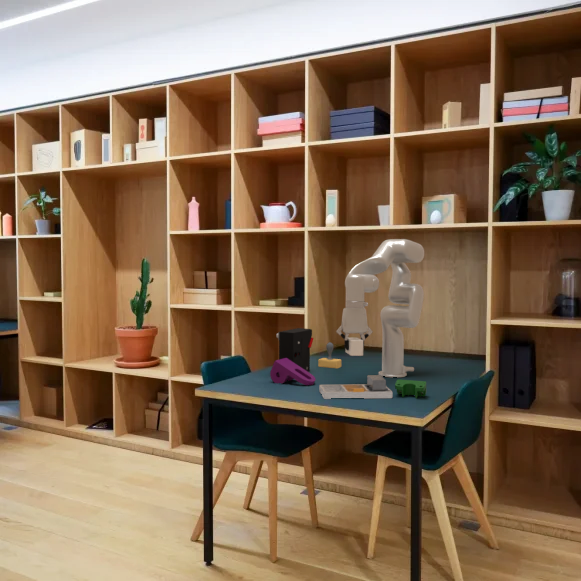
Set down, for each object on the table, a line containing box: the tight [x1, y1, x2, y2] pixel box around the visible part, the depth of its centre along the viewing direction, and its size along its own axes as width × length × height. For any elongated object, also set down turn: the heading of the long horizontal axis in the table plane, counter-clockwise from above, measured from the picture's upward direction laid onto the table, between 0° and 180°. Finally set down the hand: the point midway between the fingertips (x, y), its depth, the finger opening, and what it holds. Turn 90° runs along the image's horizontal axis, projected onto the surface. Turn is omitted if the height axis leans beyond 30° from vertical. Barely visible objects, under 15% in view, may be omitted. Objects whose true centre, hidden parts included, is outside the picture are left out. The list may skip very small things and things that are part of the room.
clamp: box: [394, 378, 428, 399], centre depth 237 cm, size 12×6×9 cm, turn 64°
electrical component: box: [276, 327, 314, 376], centre depth 282 cm, size 18×10×20 cm, turn 150°
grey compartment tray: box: [318, 374, 393, 400], centre depth 240 cm, size 26×14×6 cm, turn 95°
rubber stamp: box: [317, 342, 342, 369], centre depth 302 cm, size 10×6×12 cm, turn 62°
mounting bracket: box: [269, 358, 316, 387], centre depth 263 cm, size 10×8×18 cm
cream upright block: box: [345, 337, 364, 357], centre depth 252 cm, size 10×5×6 cm, turn 7°
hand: (354, 349), depth 252 cm, fingers closed on cream upright block, 5 cm apart
